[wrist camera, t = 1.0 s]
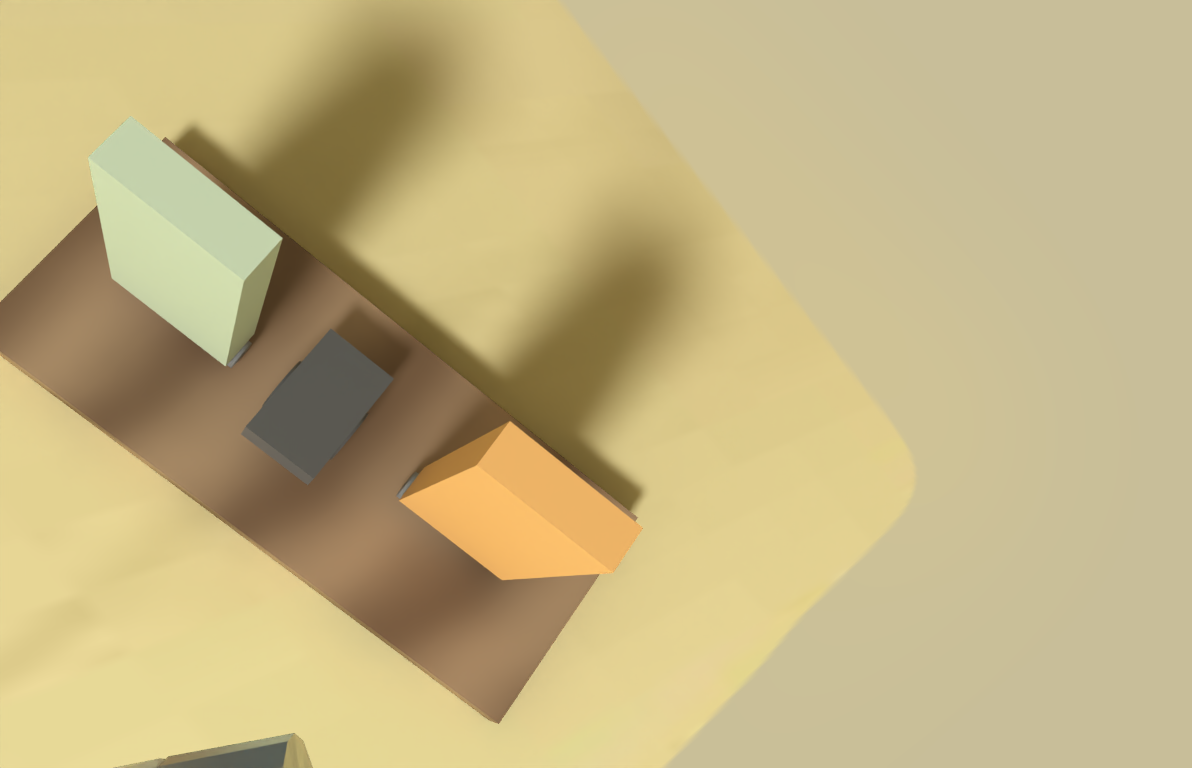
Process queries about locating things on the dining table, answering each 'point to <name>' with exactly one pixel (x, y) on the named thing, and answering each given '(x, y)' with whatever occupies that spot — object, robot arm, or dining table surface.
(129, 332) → the walnut switch board
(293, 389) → the dark gray rocker switch
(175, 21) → the dining table surface
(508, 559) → the orange paddle lever
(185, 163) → the sage paddle lever
